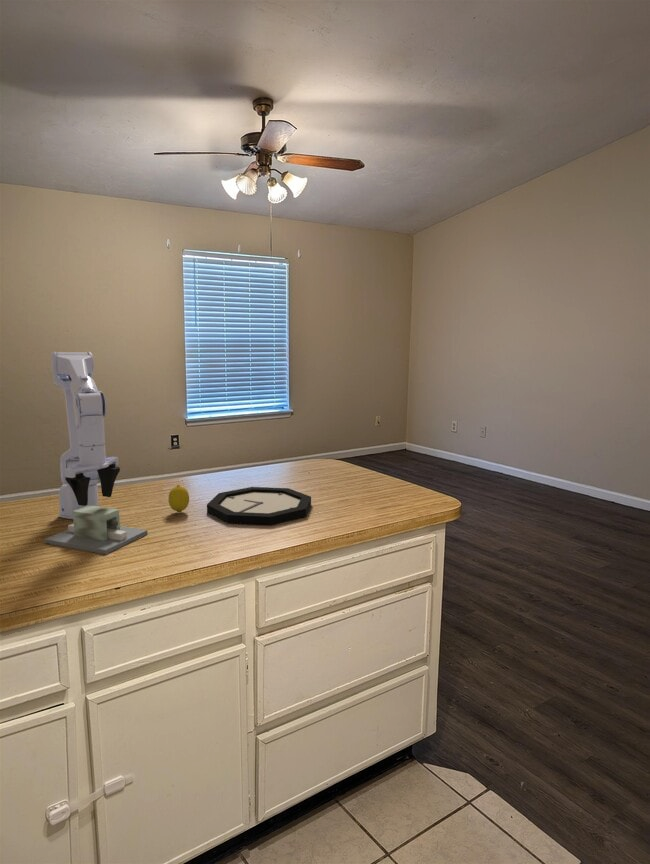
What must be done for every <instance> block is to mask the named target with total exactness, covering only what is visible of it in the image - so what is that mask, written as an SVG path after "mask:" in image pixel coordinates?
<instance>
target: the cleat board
mask: <svg viewBox="0 0 650 864" xmlns="http://www.w3.org/2000/svg"><path fill="white" fill-rule="evenodd" d="M147 535H148V530H147V529H143V528H137V527H130V526H124V525H120V530H114V529H108V528H107V540H105V541H103V540H98V539H92V538H86V537H80V536H75V535H74V522H73V523H71V524H68V525H67V529H66V530H64V531H61V532H59V533H56V534H54V535H50V536H48V537H45V538H44V543H45V542H46V543H45V544H47V543H49V544H48V545H54V546H60V547H64V548H69V549H76V550H81V551H87V552H91V553H96V554H101V555H107V554H109V553H112V552H113V551H116V550H118V549H119V548H121V547H124V546H126V545H128V544H131V543H132V542H134V541H136V540H138V539H140V538H142V537H144V536H147Z"/></svg>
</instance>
